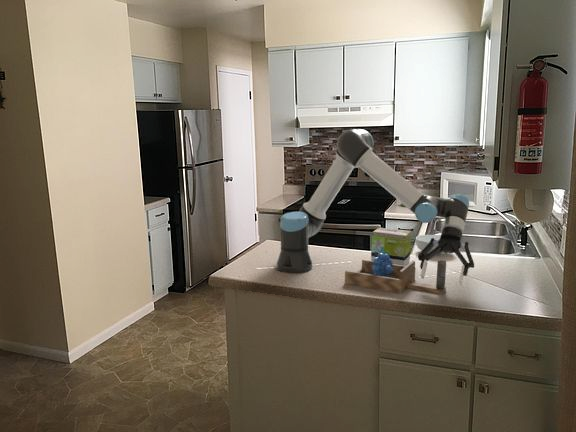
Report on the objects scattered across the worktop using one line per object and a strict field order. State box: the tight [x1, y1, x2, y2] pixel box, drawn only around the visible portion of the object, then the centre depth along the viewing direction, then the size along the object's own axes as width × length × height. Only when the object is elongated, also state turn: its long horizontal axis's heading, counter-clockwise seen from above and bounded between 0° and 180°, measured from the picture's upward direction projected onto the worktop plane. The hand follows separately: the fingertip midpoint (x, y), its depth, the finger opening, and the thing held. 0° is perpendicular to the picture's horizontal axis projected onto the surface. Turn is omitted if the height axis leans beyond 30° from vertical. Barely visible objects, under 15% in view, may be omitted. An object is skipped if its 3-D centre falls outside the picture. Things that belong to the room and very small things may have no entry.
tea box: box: [370, 227, 412, 266], centre depth 214 cm, size 15×10×15 cm, turn 62°
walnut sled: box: [344, 259, 447, 295], centre depth 186 cm, size 36×18×12 cm, turn 59°
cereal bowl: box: [415, 234, 444, 256], centre depth 231 cm, size 17×17×7 cm
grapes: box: [372, 253, 393, 278], centre depth 189 cm, size 12×7×12 cm, turn 130°
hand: (440, 279), depth 177 cm, fingers open, 13 cm apart
